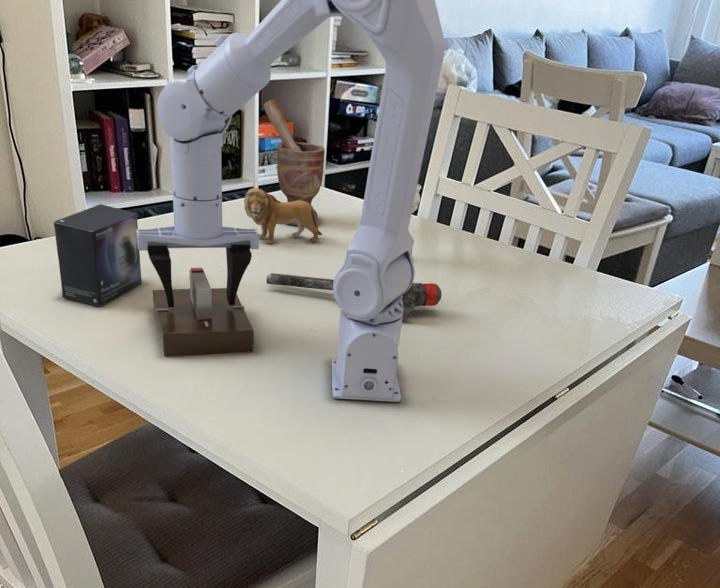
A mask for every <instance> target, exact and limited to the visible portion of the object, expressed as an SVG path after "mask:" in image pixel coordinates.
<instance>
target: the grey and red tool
mask: <svg viewBox="0 0 720 588" xmlns="http://www.w3.org/2000/svg"><path fill="white" fill-rule="evenodd" d="M333 282H334V279H333V278H332V279H331V278H323V277H322V278H321V277H312V276H302V275H293V274H284V273H275V272H274V273H273V272H270V274H268V275H267V276H266V285H276V286H284V287H294V288H303V289H314V290H322V291H332V292H333ZM442 294H443V292H442V289H441V288H440V286H439V285H438V284H436V283H435V282H434V283H433V282H432V283H422V282H413V284H412V286H411V287H410V289H409V290H408V291H407V292H406V293H404V294H403V296H402V302H403V317H402V320H403V319H404V318H406V317H408V315H409V314H410V313H411V312H412V310H413V309H414V307H415V308H416V307H417V308H418V307H430V306H431V307H433V306H436V305H438V304H439V302H440V301H441V300H442V297H443V295H442Z"/></svg>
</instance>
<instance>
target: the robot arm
mask: <svg viewBox="0 0 720 588" xmlns="http://www.w3.org/2000/svg"><path fill="white" fill-rule="evenodd" d="M342 16H345V17H346V18H347V19H349V20H350V21H351V22H352V23H353V24H354V25H356V26H357V27H358V28H359V29H361V30H362V31H364V32H365V33H366V34H367V35H368V36H369V38H370V39H371V41H372V42H373V44H374V45H375V47H376V49H377V50H378V52H379V53H380V55H381V57H383V59H384V60H385V71H384V75H383V81H382V82H383V83H382V88H381V94H380V95H381V96H380V99H379V106H378V112H377V118H376V125H375V130H374V135H373V136H374V137H373V143H372V148H371V155H370V160H369V166H368V173H367V178H366V185H365V191H364V196H363V203H362V209H361V214H360V221H359V225H358V228H357V230H356V231H355V233H354V235H353V237H352V239H351V241H350V243H349V244H348V246H347V249H346V253H345V258H344V262H343V264H342V266H341V267H340V269H339V270H338V271H337V273H336V274H335V276H334V278H333V280H334V282H333V291H332V294H333V298H334V300H335V303H336V305H337V306H338V308H339V309H340V312H339V313H340V314H339V324H338V335H337V336H338V337H337V348H336V349H337V350H336V358H333V359H332V360H331V387H332V391H331V392H332V397H333V398H334V399H339V400H340V399H341V400H342V399H343V400H357V401H373V402H375V401H376V402H391V403H399V402H401V400H402V393H401V390H400V389H401V388H400V385H399V379H398V373H397V368H398V362H399V361H398V359H399V347H400V346H399V345H400V338H401V331H402V323H403V319H402V317H403V302H402V296H403V294H404V293H406V292H407V291H408V290H409V289H410V287H411V286H412V284H413V283H414V281H415V278H416V277H415V276H416V269H415V264H414V259H413V249H414V248H413V247H414V244H415V241H414V238H413V237H412V234H411V233H410V231H409V229H410V222H411V218H412V214H413V213H412V209H413V204H414V199H415V194H416V189H417V184H419V179H420V175H421V170H422V164H423V160H424V155H425V150H426V145H427V140H428V135H429V131H430V126H431V125H430V124H431V120H432V117H433V111H434V106H435V103H436V102H435V101H436V96H437V92H438V87H439V82H440V77H441V73H442V69H443V68H442V67H443V63H444V57H445V51H446V41H445V36H444V33H443V32H444V31H443V28H442V24H441V20H440V15H439V11H438V7H437V3H436V0H279V2H278V3H277V4H276V5H275V6H274V7H273V8H272V9H271V11H270V12H268V14H267V15H265V17H264V18H263V19H262V20H261V22H260V23H258V25H257V26H256V27H255V28H254V29H253V30H252V31H251V32H250V33H249V34H246V33H242V32H232V33H231V34H230V33H229V34H228V33H227V34H220V35H218V37H217V38H216V39H214V45H215V46H216V48H215V49H214V50H213V51H212V52H211V53H210V54H209V55H207V57H206V58H205V59H204V60H203V61H202V62H201V63H200V64H195V65H193V64H192V66H190V67H189V68H188V69H187V74H188V75H187V77H186V80H185V81H180V80H174V81H170V82H167V83H165V85H164V87H163V89H162V90H161V92H160V94H159V95H158V99H157V107H156V108H157V115H158V116H157V117H158V120H159V123H160V125H161V127H162V129H163V130H164V131H165V132H166V133H167V135H168V136H169V148H170V167H171V187H172V190H171V191H172V206H173V207H172V208H173V225H172V226H171V225H170V226H163V227H153V228H146V229H145V228H143V229H139V228H138V230H136V231H137V244H138V249H139V252H140V251H147V253H148V258H149V260H150V263H151V264H152V267H153V268H154V270H155V271H156V274H157V275H158V278H159V279H160V282H161V284H162V288H163V290H165V293H166V299H167V304H168V307H174V298H173V291H172V290H173V284H172V283H173V282H172V259H171V255H170V250H169V249H216V248H217V249H218V248H219V249H220V248H221V249H225V253H226V256H225V257H226V272H227V273H226V275H227V276H226V288H227V291H226V292H227V301H228V303H229V305H235V299H236V294H237V295H238V291H239V287H240V285H241V281H242V279H243V276H244V275H245V273H246V270H247V269H248V266H249V265H250V263H251V261H252V257H253V255H252V252H251V250H259V249H260V238H259V235H260V233H259V232H258V230H257V229H256V228H242V227H232V226H223V182H222V181H223V177H222V173H223V172H222V169H223V168H222V147H224V135H225V132H226V131H227V130H228V128H229V126H230V125H231V122H232V117H233V115H234V114H235V113H236V112H237V111H238V110H240V109H241V108H242V107H243V106H244V105H246V104H247V103H248V102H249V101H250V100H251V99H253V97H255V96H256V95H257V94H258V93H259V92H260V91H262V89H264V88H265V87H266V86H267V85H268V84H269V83H270V80H271V77H272V64H273V63H274V62H275V61H277V60H278V59H279V58H281V56H283V55H284V54H285V53H286V52H288V51H289V50H290V49H291V48H293V47H294V46H295V45H296V44H298V43H299V42H300V41H301V40H303V39H304V38H305V37H307V36H308V35H309V34H310V33H311V32H313V30H315V29H316V28H317V27H319V26H320V25H322V23H324V22H325V21H326V20H327V19H329V18H335V17H342ZM411 213H412V214H411Z"/></svg>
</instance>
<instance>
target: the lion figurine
mask: <svg viewBox="0 0 720 588" xmlns="http://www.w3.org/2000/svg"><path fill="white" fill-rule="evenodd" d="M243 202H244V203H243V204H244V211H245V214H246V216H247V217H248V218H250V219H252V221H253V222H254V223H255V224H256V225H258V226H260V228H261V234H259V240H264V239H265V243H266V244H269V245H271V244H272V245H273V243H274V241H275V229H276V226H277V225H289V224H288V223H291V222H292V221H294V220H296V222H297V224H298V225H297V230H296V232H292V233H291V237H292V238H299V237H300V235H301V234H302V233H303V232H304V231H305V229H307V231H309V232H311V234H312V235H313V236H312V237H311V238H310V239H309V241H310V242H311V243H317V242H318V239H319V236H323V233H322V232H321V231H320V230H319V226H318V225H319V224H318V222H317V217H316V213H315V211H316V209H314V207H313V205H312V204H311V205H312V206H311V205H310V204H309V203H308V202H306V201H301V200H298V201H293V202H287V201H286V202H282V201H280V200H278V199H277V198H276V197H275V196H274V195H273V194H270V193H268V192H266V191H265V190H263V189H262V188H258V187H254V188H250V189H248V191H247V192H246V193H245V195H244V199H243ZM311 213H312V217H313V221H314V224H313V222H312V217H311ZM267 236H268V237H267ZM266 238H267V239H266Z"/></svg>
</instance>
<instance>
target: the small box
mask: <svg viewBox="0 0 720 588" xmlns="http://www.w3.org/2000/svg"><path fill="white" fill-rule="evenodd" d="M53 228H54V236H55V244H56V253H57V259H58V268H59V275H60V285H61V286H60V287H61V296H62V298H64V299H68V300H73V301H76V302H81V303H84V304H88V305H92V306H97V307H101V306H103V305H105V304H107V303H109V302H110V301H113V300H114V299H116V298H118V297H119V296H121V295H123V294H125V293H127V292H130V290H133V289H134V288H137V287H138V286H140V285H142V269H141V268H142V267H141V256H140V255H141V254H140V251H139V249H138V244H137V231H136V230H139V223H138V212H135V211H130V210H125V209H121V208H117V207H113V206H110V205H106V204H101V203H100V204H97V205H94V206H92V207H89V208H87V209H84V210H81V211H79V212H76V213H73V214H70V215H68V216H65V217H62V218H60V219H57V220H54V221H53Z"/></svg>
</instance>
